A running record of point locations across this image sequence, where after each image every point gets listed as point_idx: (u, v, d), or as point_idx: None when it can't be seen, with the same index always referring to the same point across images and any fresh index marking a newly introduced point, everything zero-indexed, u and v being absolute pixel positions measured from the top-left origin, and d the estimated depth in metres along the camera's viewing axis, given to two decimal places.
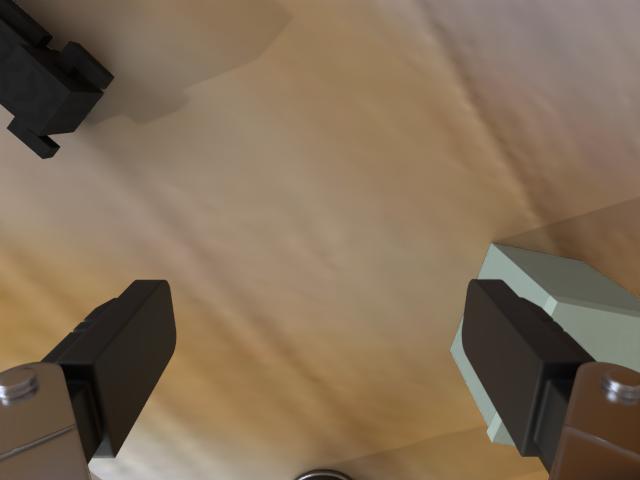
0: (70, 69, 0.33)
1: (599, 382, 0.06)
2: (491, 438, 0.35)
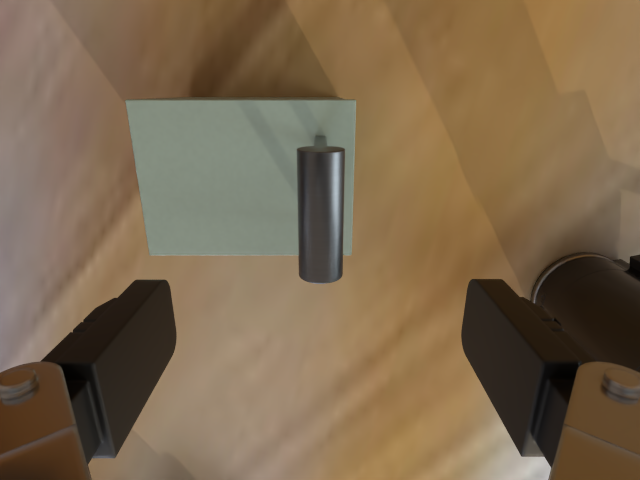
0: None
1: (599, 382, 0.06)
2: None
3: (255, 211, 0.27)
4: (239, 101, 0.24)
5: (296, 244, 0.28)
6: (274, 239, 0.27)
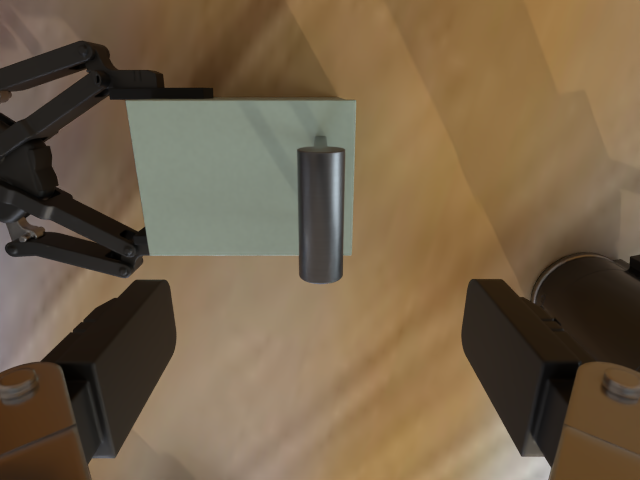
0: None
1: (599, 382, 0.06)
2: (348, 254, 0.28)
3: (255, 211, 0.27)
4: (239, 101, 0.24)
5: (296, 244, 0.28)
6: (274, 239, 0.27)
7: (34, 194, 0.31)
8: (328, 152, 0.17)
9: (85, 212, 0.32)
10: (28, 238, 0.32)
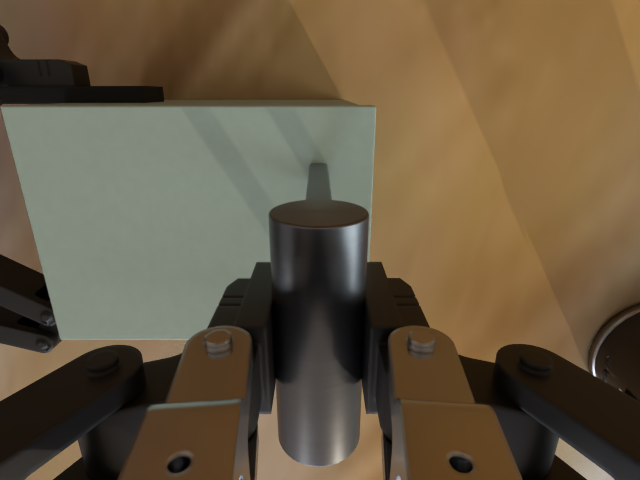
0: None
1: (402, 341, 0.07)
2: None
3: (218, 277, 0.17)
4: (186, 108, 0.15)
5: None
6: None
7: None
8: (334, 226, 0.08)
9: None
10: None
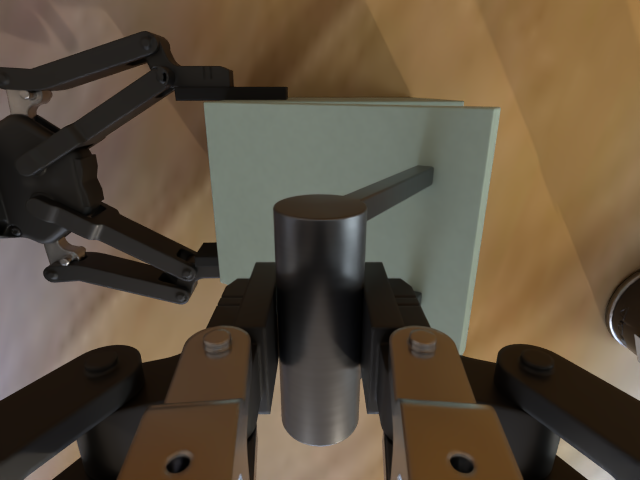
0: None
1: (403, 341, 0.07)
2: None
3: None
4: (316, 106, 0.17)
5: None
6: None
7: (79, 211, 0.26)
8: (307, 218, 0.08)
9: (136, 229, 0.28)
10: (70, 261, 0.28)
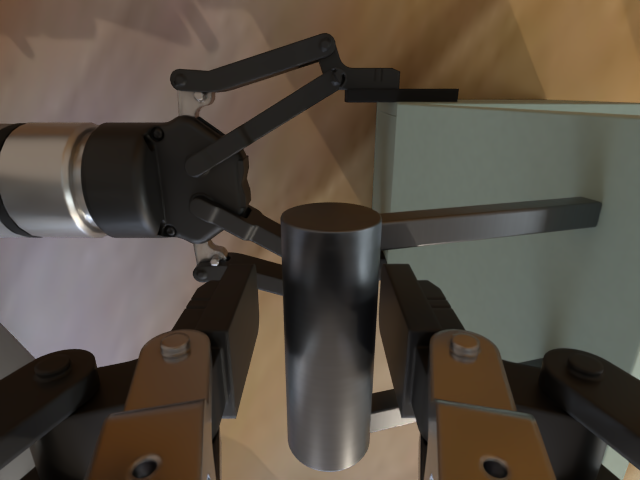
0: None
1: (444, 345, 0.07)
2: None
3: (469, 291, 0.16)
4: (483, 111, 0.14)
5: None
6: None
7: (236, 211, 0.27)
8: (290, 223, 0.08)
9: None
10: (219, 262, 0.28)
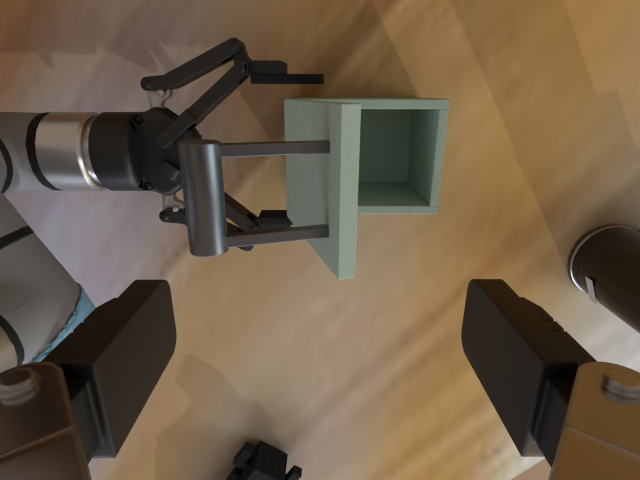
0: (247, 464, 0.59)
1: (599, 382, 0.06)
2: None
3: (308, 203, 0.29)
4: (305, 102, 0.27)
5: (320, 246, 0.28)
6: None
7: None
8: (179, 143, 0.21)
9: None
10: (178, 209, 0.41)
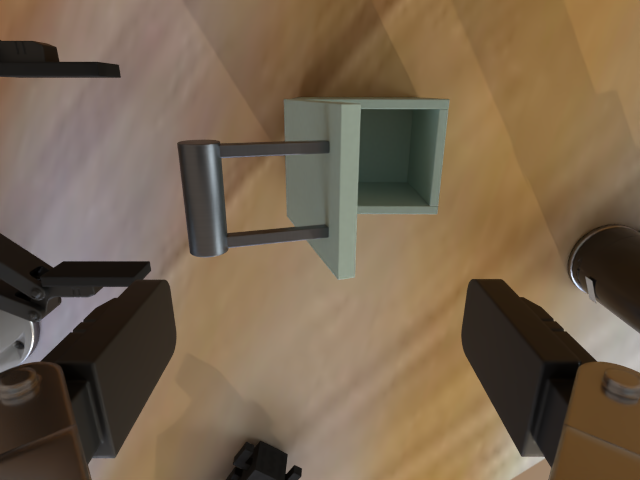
0: (247, 464, 0.59)
1: (599, 382, 0.06)
2: None
3: (308, 203, 0.29)
4: (305, 102, 0.27)
5: (319, 246, 0.28)
6: None
7: None
8: (179, 143, 0.21)
9: None
10: None
